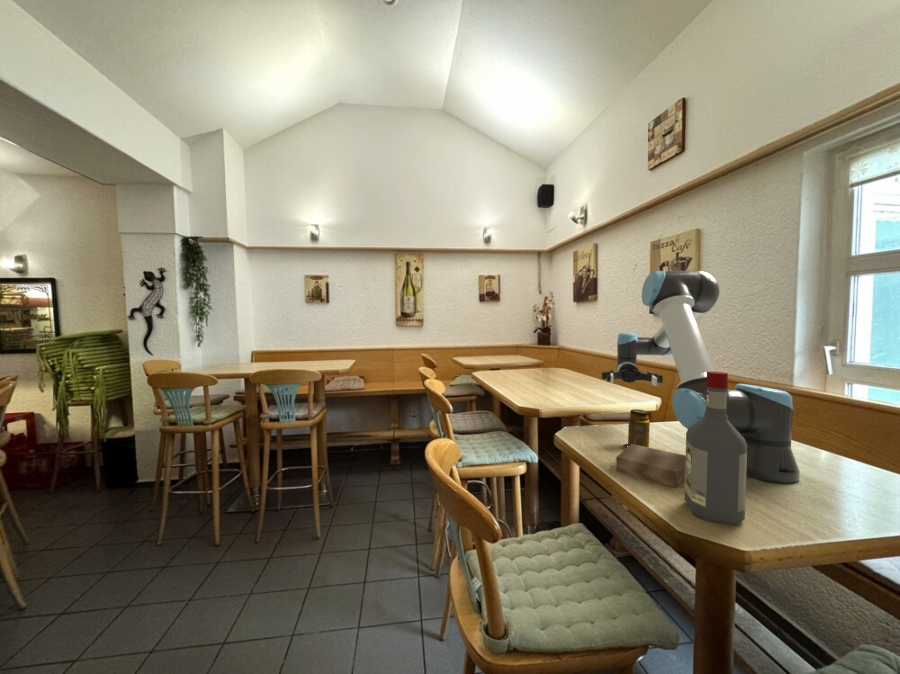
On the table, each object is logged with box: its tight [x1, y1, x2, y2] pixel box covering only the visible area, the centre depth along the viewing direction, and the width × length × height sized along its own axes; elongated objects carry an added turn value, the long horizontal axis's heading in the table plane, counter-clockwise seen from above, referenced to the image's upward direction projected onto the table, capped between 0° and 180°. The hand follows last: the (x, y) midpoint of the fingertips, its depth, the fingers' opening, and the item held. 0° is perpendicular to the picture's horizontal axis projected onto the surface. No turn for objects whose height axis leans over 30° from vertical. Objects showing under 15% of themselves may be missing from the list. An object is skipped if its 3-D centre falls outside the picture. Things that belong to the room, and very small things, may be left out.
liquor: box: [684, 371, 747, 526], centre depth 74 cm, size 9×9×30 cm
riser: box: [615, 444, 686, 488], centre depth 96 cm, size 14×14×4 cm
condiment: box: [620, 408, 654, 450], centre depth 114 cm, size 7×8×12 cm
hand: (633, 380), depth 123 cm, fingers open, 13 cm apart
